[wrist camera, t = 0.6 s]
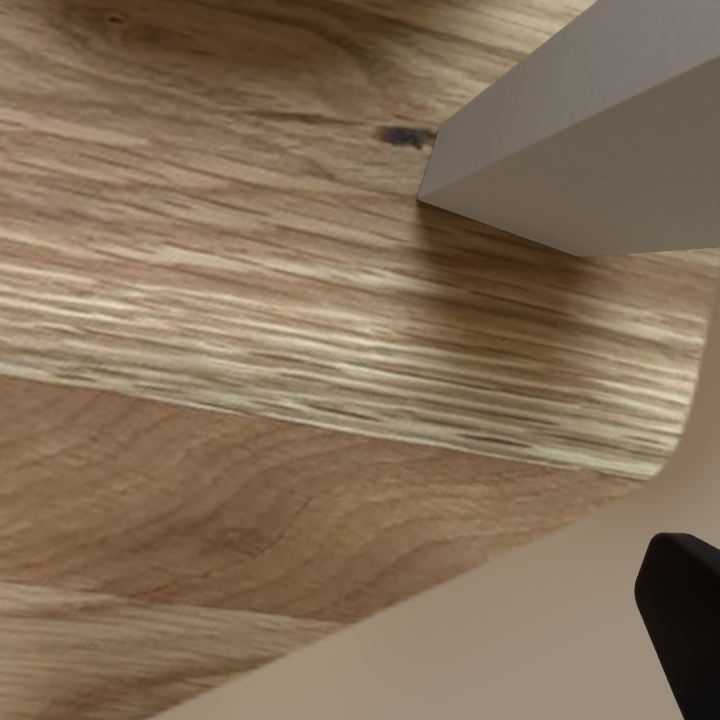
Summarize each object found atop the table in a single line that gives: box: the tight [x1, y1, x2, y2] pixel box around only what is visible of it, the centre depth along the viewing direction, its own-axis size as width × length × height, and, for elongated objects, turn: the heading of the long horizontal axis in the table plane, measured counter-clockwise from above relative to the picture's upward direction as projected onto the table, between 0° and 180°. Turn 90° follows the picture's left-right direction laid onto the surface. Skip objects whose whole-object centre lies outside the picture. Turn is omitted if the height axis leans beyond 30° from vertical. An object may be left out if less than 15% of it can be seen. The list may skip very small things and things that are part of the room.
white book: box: [418, 0, 720, 257], centre depth 15 cm, size 2×6×15 cm, turn 73°
